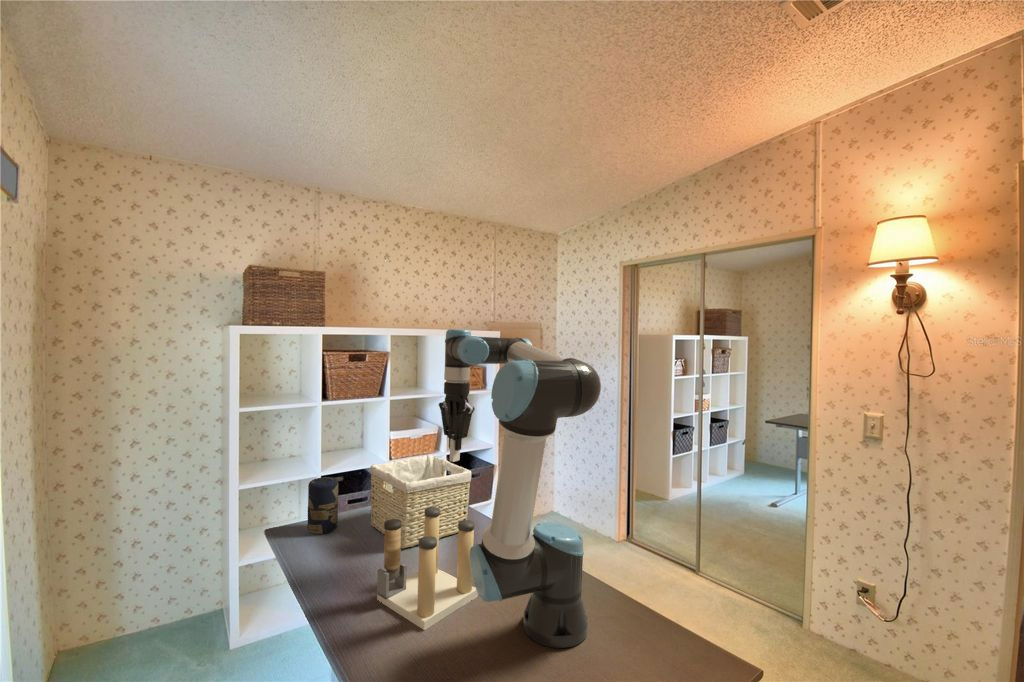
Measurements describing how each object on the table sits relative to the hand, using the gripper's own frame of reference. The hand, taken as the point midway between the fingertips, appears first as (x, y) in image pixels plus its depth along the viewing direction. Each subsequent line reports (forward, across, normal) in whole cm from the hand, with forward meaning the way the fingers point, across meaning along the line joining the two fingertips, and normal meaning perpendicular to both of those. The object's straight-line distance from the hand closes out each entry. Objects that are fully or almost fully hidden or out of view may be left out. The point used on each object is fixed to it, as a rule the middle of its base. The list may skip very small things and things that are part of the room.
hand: (454, 460), depth 136 cm
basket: (+31, +26, -9) cm, 41 cm away
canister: (+31, +48, +14) cm, 59 cm away
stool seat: (+30, -9, +17) cm, 36 cm away
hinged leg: (+18, 0, +23) cm, 30 cm away
